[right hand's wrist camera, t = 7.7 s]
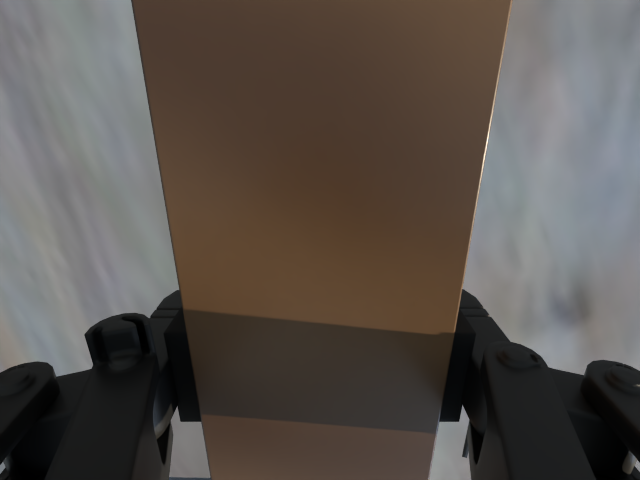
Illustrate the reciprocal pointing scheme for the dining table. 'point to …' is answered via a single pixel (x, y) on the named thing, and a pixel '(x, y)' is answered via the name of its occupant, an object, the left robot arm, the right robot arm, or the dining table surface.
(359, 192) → the beam
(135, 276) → the dining table surface
